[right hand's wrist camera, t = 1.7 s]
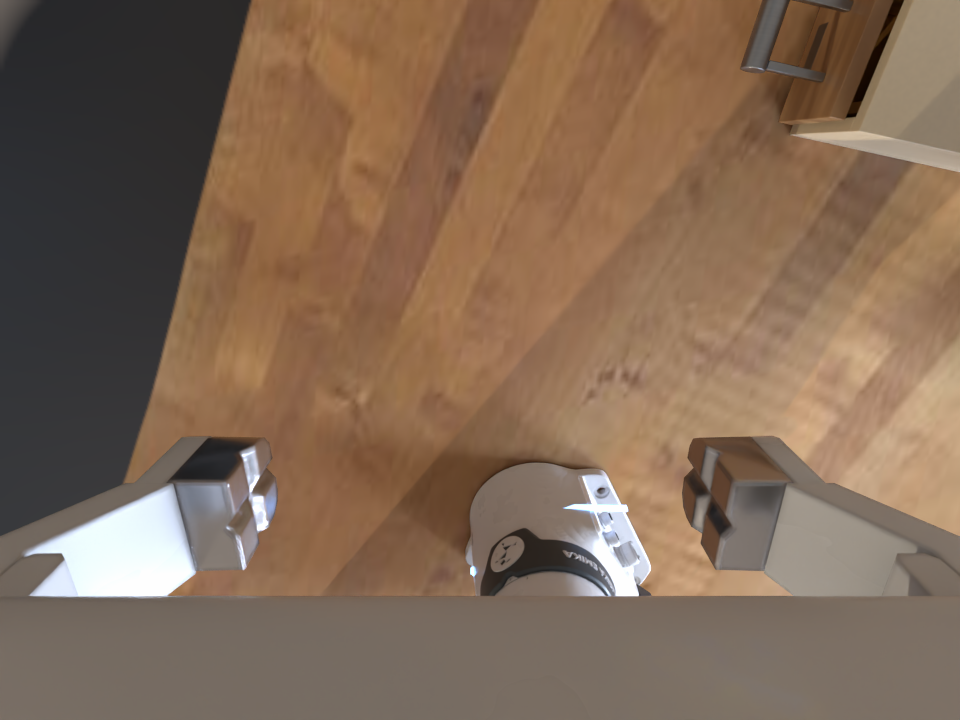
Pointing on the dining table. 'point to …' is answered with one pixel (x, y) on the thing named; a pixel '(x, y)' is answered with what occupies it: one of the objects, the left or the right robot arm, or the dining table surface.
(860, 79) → the drawer
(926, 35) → the cabinet
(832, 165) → the dining table surface
